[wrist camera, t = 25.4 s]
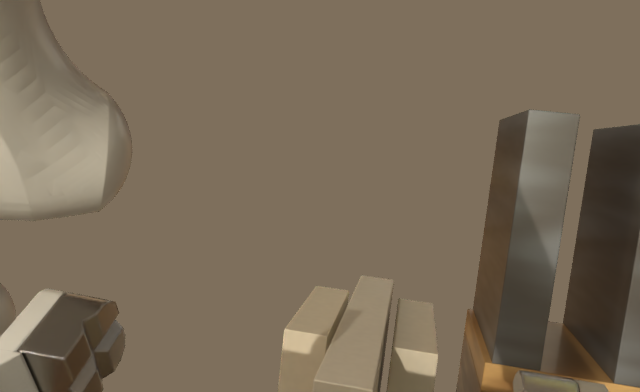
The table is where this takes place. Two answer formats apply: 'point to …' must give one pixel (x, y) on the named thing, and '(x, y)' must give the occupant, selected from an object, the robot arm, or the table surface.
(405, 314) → the cream teal blocky piece
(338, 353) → the white book
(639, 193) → the book stand
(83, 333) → the robot arm
